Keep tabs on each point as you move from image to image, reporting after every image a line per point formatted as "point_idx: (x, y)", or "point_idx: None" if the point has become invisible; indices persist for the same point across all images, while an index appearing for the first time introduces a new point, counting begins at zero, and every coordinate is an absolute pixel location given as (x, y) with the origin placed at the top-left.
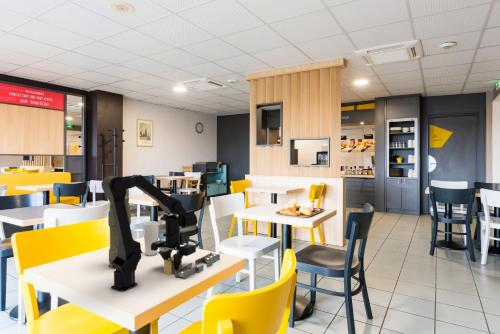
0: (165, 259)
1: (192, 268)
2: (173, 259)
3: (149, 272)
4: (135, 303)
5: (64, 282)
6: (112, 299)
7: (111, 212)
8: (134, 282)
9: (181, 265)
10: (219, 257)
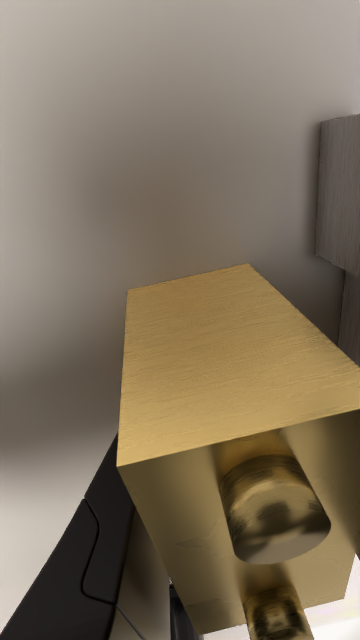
0: (200, 625)
1: None
2: (329, 567)
3: (36, 499)
4: (338, 603)
5: None
6: (232, 635)
7: None
8: (170, 598)
9: (271, 293)
10: None
